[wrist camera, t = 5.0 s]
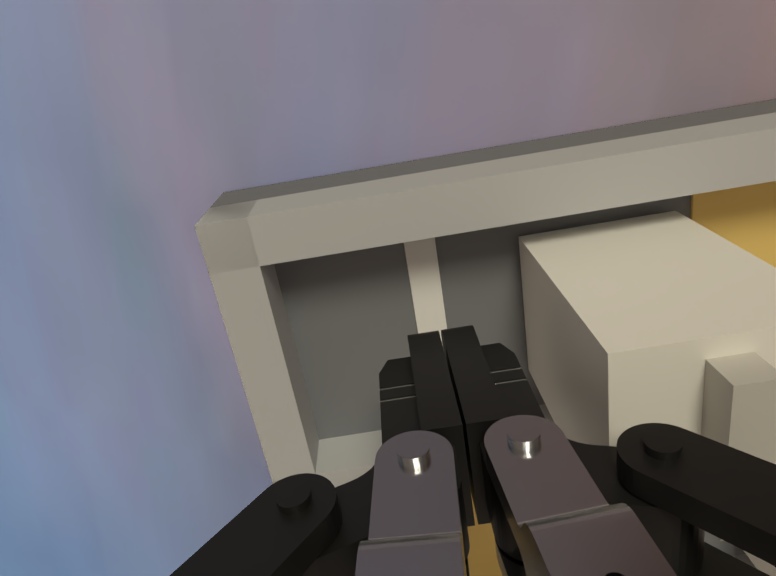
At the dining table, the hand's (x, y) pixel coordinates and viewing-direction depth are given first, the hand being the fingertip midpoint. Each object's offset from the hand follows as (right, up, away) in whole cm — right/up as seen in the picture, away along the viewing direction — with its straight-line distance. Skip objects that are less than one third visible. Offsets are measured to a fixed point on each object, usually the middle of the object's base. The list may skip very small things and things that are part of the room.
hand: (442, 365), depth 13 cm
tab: (+4, +2, +2) cm, 5 cm away
